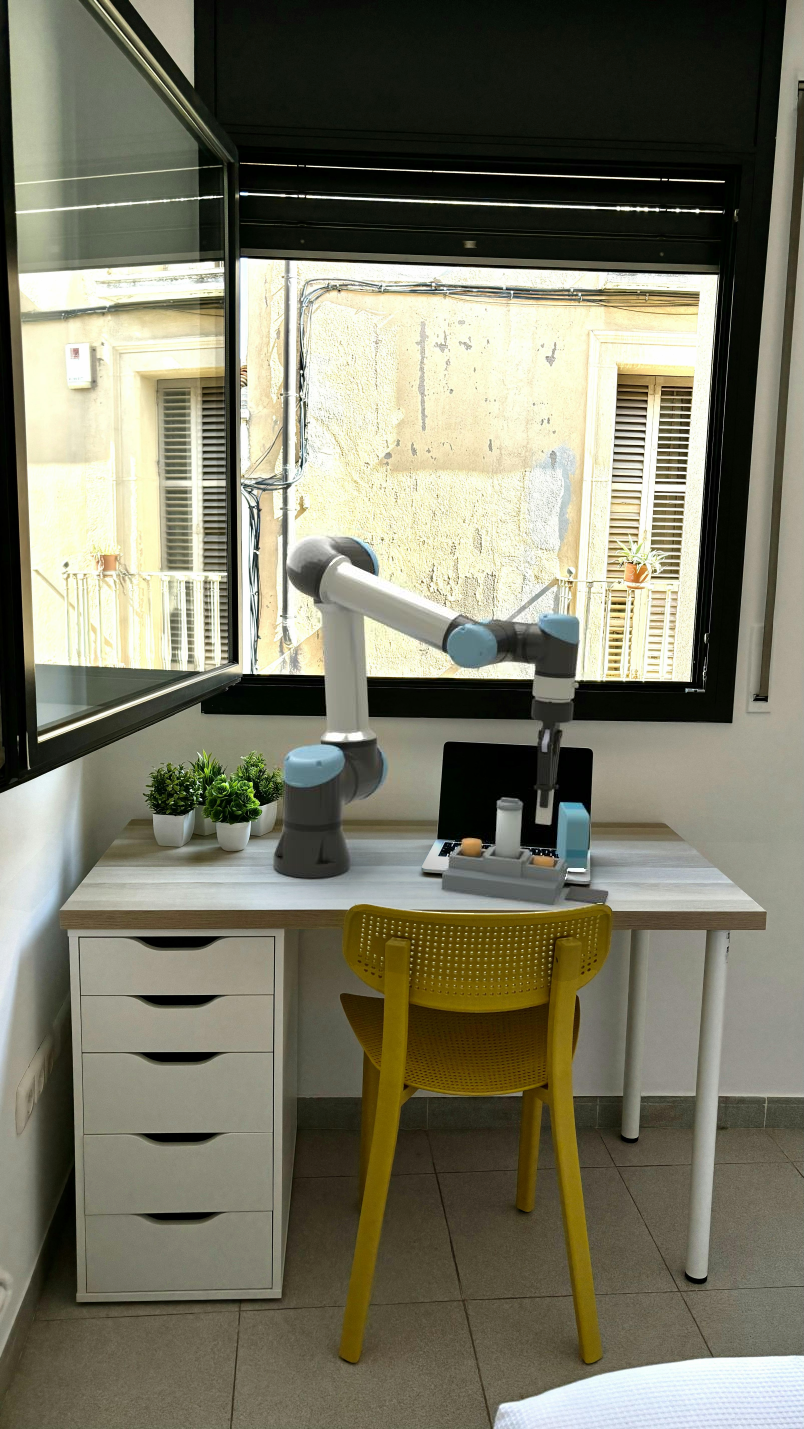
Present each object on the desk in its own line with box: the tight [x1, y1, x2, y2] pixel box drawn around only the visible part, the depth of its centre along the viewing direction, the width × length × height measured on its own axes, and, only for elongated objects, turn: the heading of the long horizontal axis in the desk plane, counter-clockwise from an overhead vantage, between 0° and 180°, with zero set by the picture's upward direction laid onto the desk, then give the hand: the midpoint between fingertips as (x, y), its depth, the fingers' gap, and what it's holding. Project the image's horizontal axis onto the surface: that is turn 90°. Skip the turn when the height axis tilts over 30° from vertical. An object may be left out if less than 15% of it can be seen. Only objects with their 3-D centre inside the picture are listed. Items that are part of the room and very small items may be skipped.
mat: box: [564, 885, 609, 905], centre depth 182 cm, size 7×7×1 cm
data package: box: [556, 801, 591, 869], centre depth 200 cm, size 12×4×12 cm, turn 178°
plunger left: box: [461, 837, 483, 857], centre depth 189 cm, size 4×4×2 cm
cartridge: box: [494, 796, 524, 860], centre depth 186 cm, size 5×5×14 cm
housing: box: [441, 845, 568, 906], centre depth 187 cm, size 21×16×6 cm
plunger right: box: [533, 855, 554, 868], centre depth 185 cm, size 4×4×2 cm
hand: (543, 823), depth 184 cm, fingers closed
